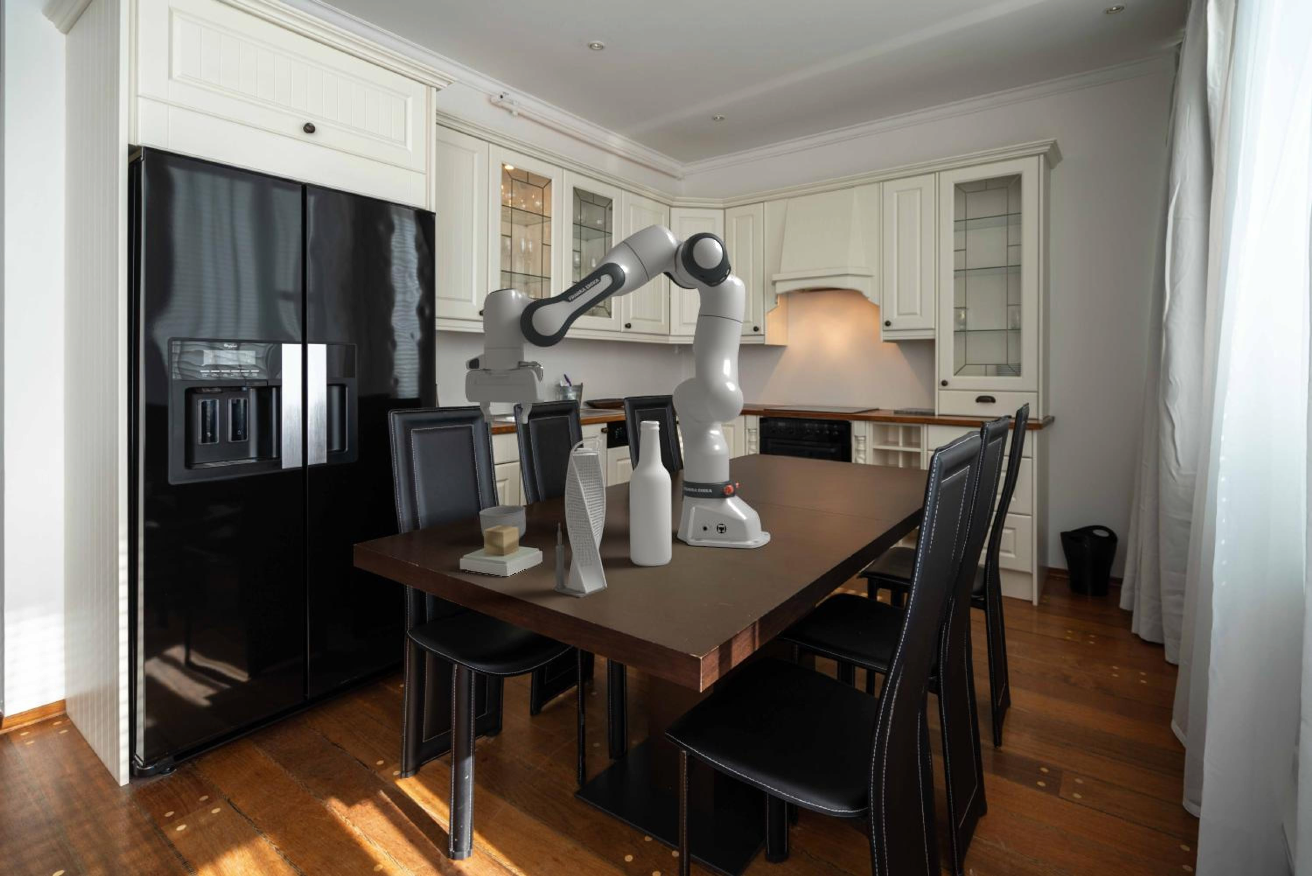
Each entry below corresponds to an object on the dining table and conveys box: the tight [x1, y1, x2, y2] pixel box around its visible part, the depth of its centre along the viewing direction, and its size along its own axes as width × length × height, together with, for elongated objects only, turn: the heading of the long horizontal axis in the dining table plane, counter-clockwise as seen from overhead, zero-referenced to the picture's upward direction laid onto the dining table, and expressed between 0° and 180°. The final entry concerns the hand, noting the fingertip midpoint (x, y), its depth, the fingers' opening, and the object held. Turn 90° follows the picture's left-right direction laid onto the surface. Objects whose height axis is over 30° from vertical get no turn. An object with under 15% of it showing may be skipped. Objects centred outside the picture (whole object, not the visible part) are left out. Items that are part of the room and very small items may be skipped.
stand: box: [459, 546, 543, 577], centre depth 143 cm, size 12×12×3 cm
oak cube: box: [483, 525, 520, 556], centre depth 143 cm, size 5×5×5 cm
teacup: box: [479, 504, 527, 540], centre depth 166 cm, size 14×11×8 cm
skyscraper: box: [553, 438, 608, 599], centre depth 127 cm, size 8×8×28 cm
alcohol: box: [629, 420, 673, 567], centre depth 145 cm, size 9×9×30 cm
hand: (505, 422), depth 156 cm, fingers open, 8 cm apart
